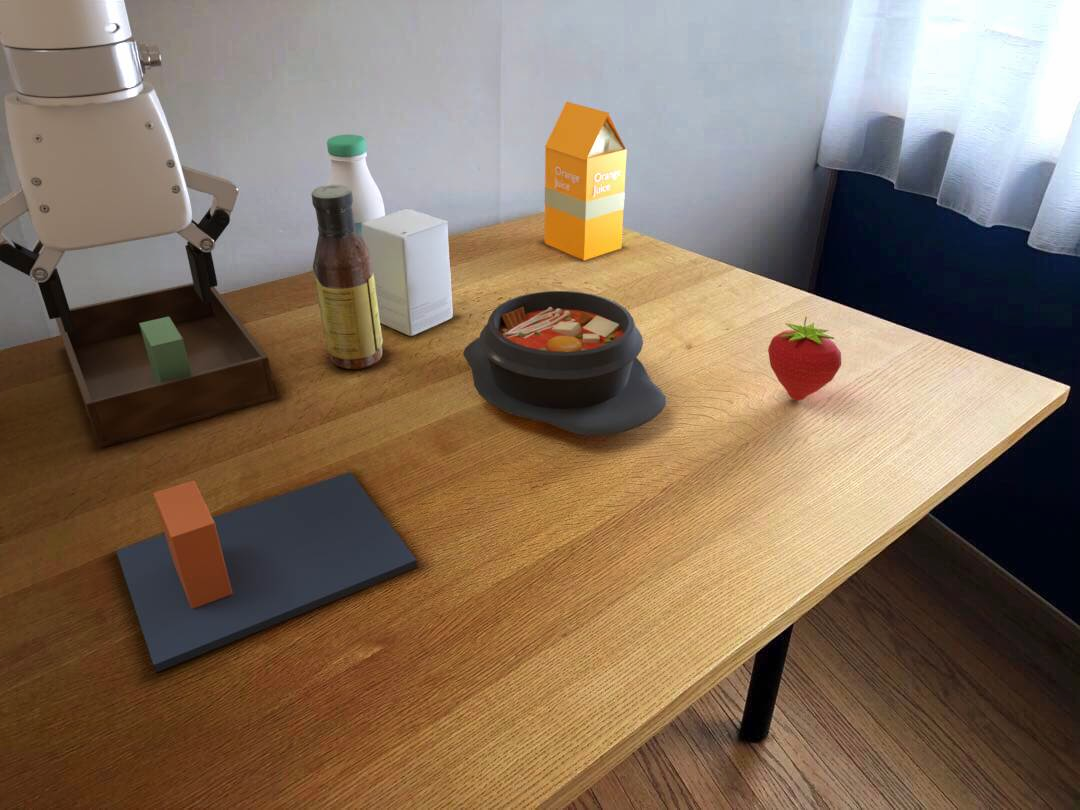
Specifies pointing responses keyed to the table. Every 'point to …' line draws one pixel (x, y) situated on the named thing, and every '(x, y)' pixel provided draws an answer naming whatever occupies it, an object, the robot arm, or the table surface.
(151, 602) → the mat
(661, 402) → the casserole
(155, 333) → the block
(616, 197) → the orange juice
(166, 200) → the robot arm
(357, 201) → the milk bottle
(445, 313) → the white packaging box
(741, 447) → the table surface
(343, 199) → the sauce bottle
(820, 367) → the strawberry
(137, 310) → the tray
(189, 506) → the block
